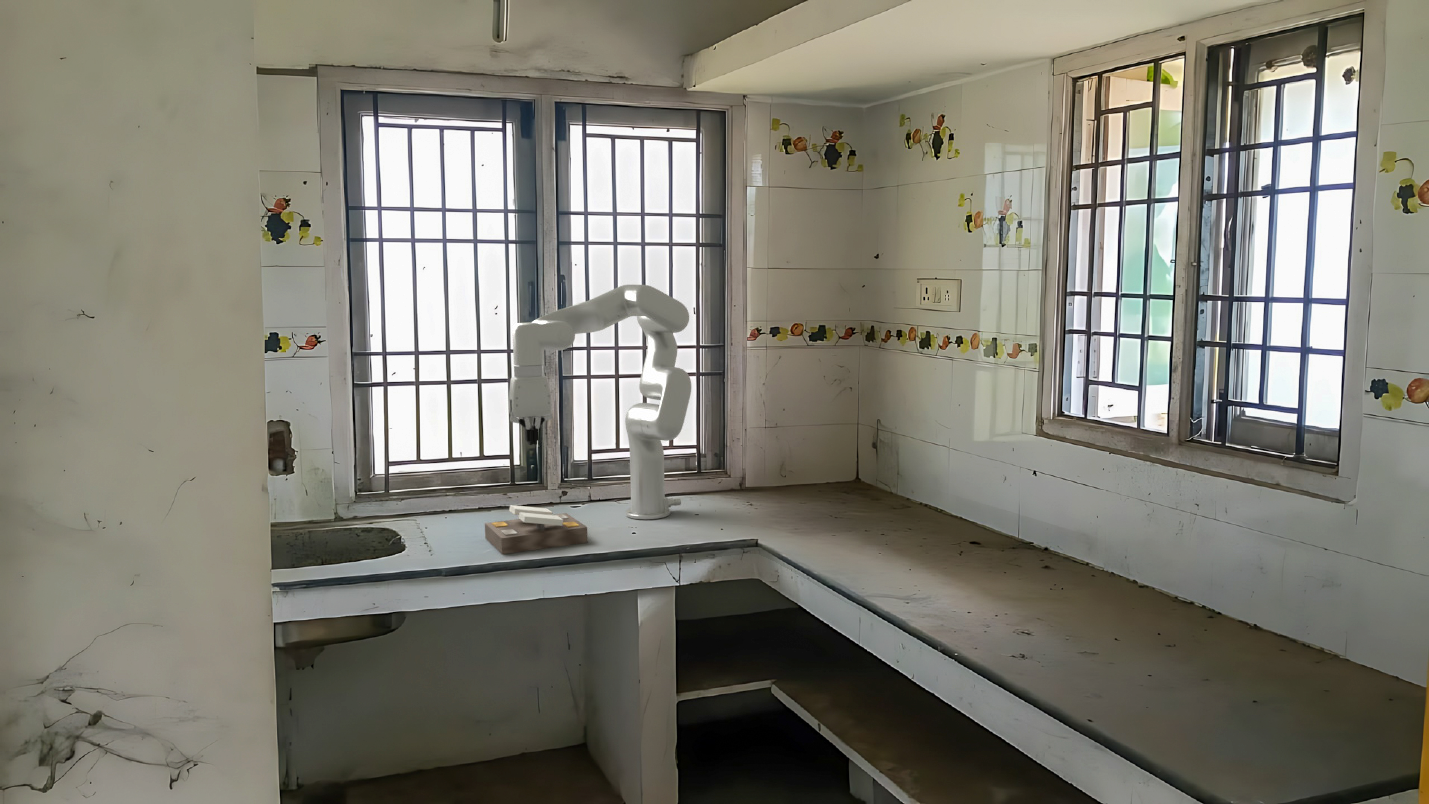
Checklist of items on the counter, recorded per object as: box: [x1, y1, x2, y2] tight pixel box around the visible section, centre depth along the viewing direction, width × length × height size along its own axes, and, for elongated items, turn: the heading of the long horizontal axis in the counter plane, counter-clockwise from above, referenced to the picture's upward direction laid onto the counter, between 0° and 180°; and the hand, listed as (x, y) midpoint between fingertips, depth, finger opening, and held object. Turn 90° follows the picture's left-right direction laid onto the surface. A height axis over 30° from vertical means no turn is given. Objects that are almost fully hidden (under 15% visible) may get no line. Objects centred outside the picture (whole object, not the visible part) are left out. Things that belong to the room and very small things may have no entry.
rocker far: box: [509, 504, 554, 516], centre depth 270 cm, size 10×5×2 cm, turn 116°
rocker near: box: [518, 512, 563, 526], centre depth 262 cm, size 10×5×2 cm, turn 116°
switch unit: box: [484, 512, 589, 555], centre depth 266 cm, size 22×17×6 cm
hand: (532, 443), depth 263 cm, fingers closed
